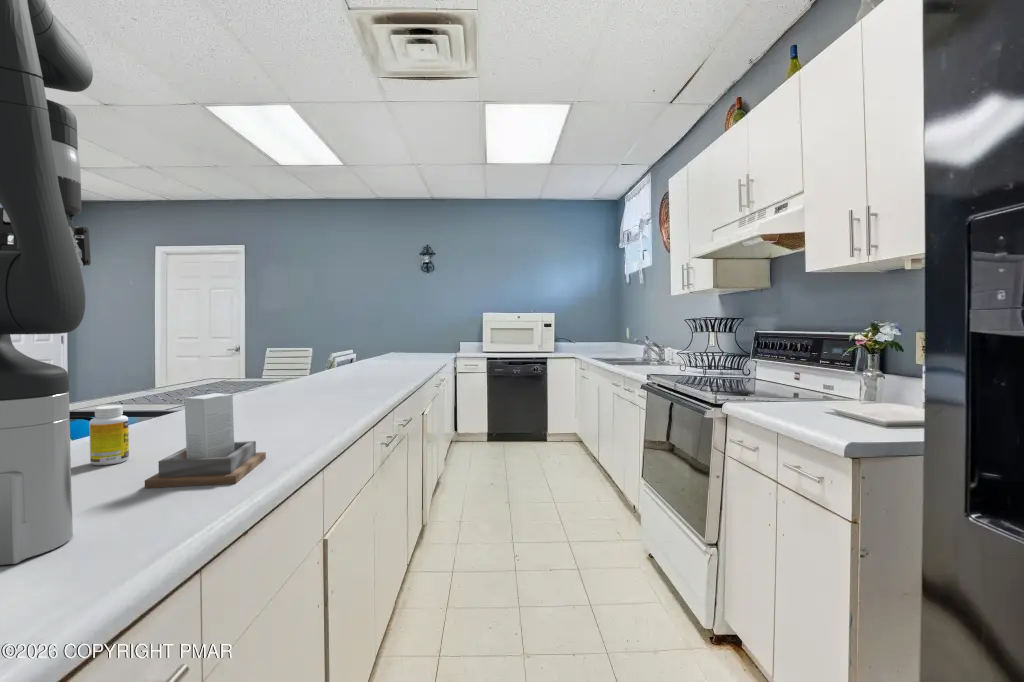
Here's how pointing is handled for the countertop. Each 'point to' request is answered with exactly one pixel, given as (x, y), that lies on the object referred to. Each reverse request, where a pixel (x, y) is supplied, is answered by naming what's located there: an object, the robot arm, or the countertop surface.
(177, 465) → the holder
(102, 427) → the supplement bottle
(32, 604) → the countertop surface
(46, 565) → the countertop surface
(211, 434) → the skincare box
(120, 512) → the countertop surface
